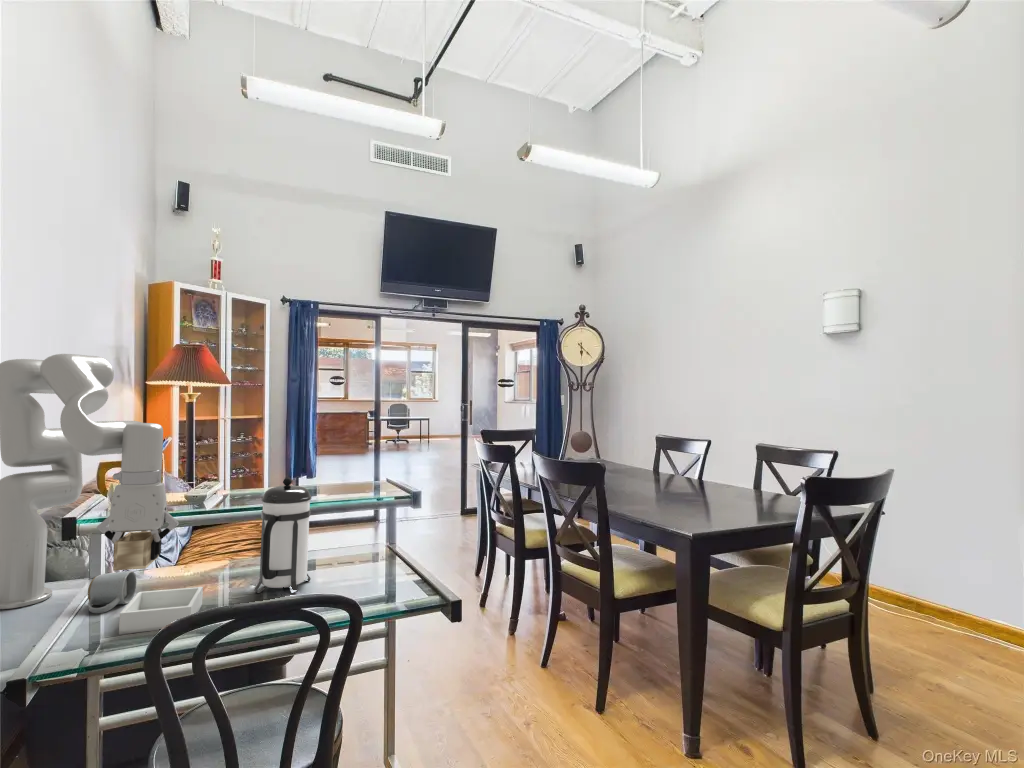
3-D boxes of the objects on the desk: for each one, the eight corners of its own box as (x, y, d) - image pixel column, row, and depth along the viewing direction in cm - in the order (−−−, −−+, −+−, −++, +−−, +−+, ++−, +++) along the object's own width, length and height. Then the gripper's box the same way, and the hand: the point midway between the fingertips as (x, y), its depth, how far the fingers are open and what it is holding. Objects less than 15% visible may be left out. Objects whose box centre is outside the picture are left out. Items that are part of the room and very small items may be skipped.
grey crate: (118, 634, 117) (119, 613, 118) (138, 610, 130) (138, 591, 130) (190, 626, 122) (191, 606, 122) (202, 605, 135) (202, 586, 135)
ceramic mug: (100, 598, 137) (101, 568, 137) (136, 596, 139) (137, 566, 139) (77, 616, 127) (78, 583, 127) (117, 613, 129) (118, 581, 129)
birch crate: (113, 570, 115) (114, 542, 116) (128, 558, 124) (129, 532, 124) (145, 568, 117) (147, 540, 117) (158, 556, 126) (159, 530, 126)
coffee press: (242, 585, 149) (246, 476, 150) (300, 574, 160) (304, 472, 161) (261, 604, 136) (266, 485, 137) (323, 591, 146) (328, 480, 147)
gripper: (88, 481, 115) (83, 567, 114) (180, 480, 120) (176, 561, 120) (102, 476, 122) (98, 557, 122) (189, 475, 128) (185, 552, 127)
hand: (137, 558), depth 121 cm, fingers closed on birch crate, 6 cm apart
